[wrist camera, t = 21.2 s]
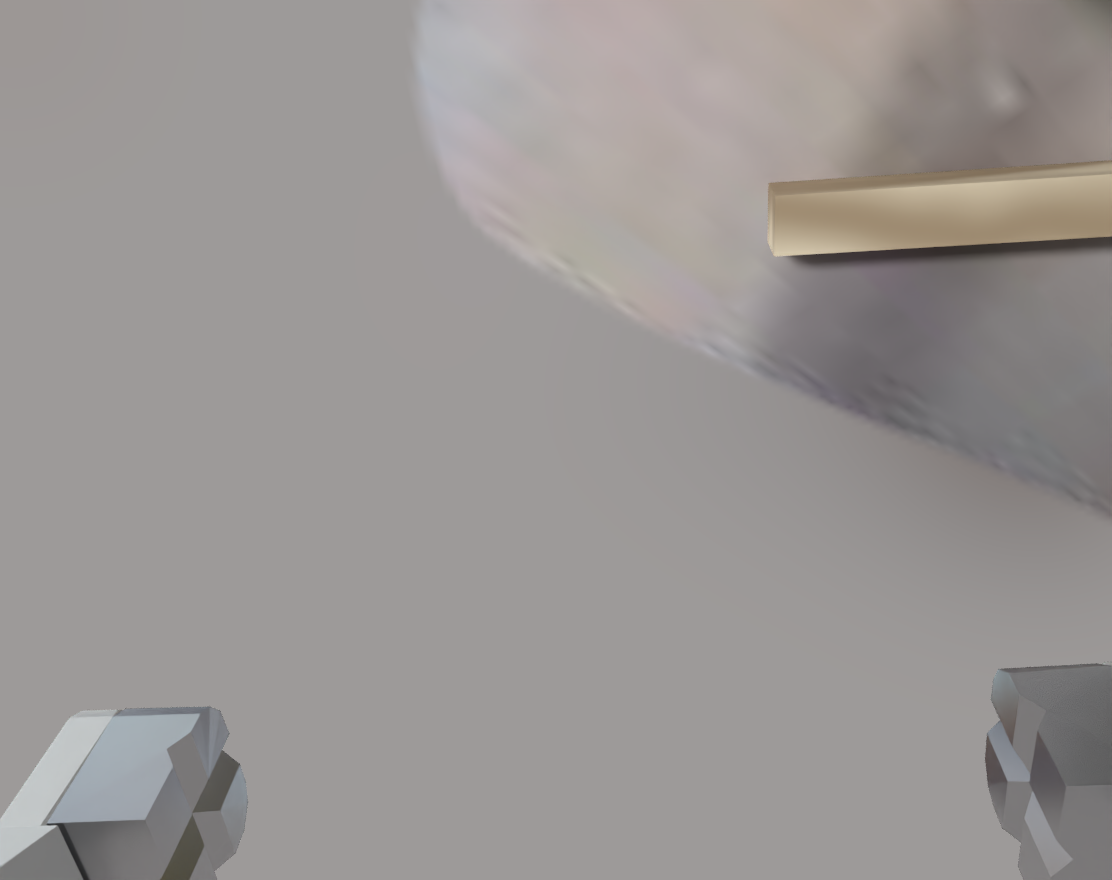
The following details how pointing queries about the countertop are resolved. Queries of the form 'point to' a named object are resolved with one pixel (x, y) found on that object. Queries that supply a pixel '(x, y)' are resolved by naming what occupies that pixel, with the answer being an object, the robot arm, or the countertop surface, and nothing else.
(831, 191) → the birch bar
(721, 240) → the countertop surface
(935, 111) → the countertop surface
